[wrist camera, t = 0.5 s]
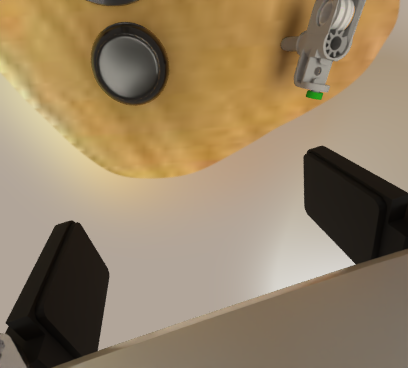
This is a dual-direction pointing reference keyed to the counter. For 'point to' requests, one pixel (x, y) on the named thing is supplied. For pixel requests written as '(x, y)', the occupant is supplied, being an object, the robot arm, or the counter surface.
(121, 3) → the plate
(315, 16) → the mechanical component
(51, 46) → the counter surface
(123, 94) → the supplement bottle
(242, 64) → the counter surface
